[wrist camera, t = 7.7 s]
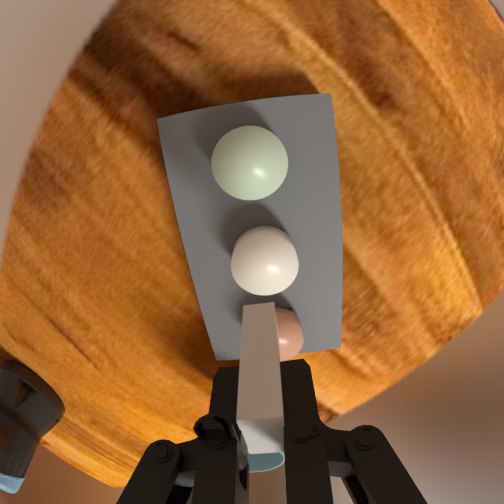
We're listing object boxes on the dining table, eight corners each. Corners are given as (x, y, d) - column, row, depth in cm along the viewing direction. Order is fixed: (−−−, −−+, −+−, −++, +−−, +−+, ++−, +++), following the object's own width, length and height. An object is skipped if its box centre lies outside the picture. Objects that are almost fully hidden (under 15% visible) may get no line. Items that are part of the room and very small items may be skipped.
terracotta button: (252, 334, 28) (251, 364, 24) (244, 295, 26) (242, 324, 22) (299, 329, 27) (304, 358, 24) (297, 289, 26) (302, 317, 22)
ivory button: (240, 271, 25) (236, 298, 21) (230, 219, 23) (225, 240, 19) (295, 265, 24) (300, 291, 21) (289, 212, 23) (295, 231, 19)
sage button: (225, 190, 22) (218, 205, 18) (215, 130, 20) (205, 132, 16) (286, 182, 22) (292, 195, 18) (278, 121, 20) (283, 121, 16)
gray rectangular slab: (219, 340, 30) (216, 360, 27) (168, 118, 21) (156, 119, 18) (334, 328, 29) (340, 347, 26) (321, 96, 20) (330, 93, 17)
